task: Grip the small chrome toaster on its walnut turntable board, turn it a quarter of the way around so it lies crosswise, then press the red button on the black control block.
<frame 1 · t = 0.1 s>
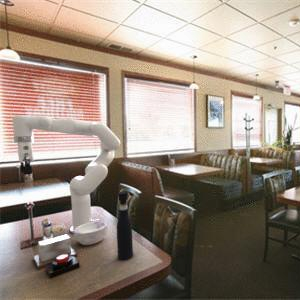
hand: (26, 173, 119), 37 cm above the table, tool pointing down, fingers open, 9 cm apart
button: (62, 258, 97), point 4 cm above the table, slide at 0.1 cm
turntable: (55, 258, 106), on the table
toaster: (54, 247, 106), point 5 cm above the table, hinge at 0.0°
control block: (62, 269, 98), on the table
wine bottle: (125, 257, 107), on the table
white round bowl: (91, 241, 123), on the table
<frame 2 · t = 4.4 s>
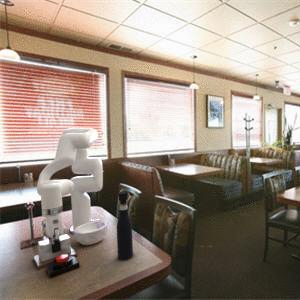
hand: (54, 249, 106), 4 cm above the table, tool pointing down, fingers closed on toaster, 5 cm apart
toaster: (54, 247, 106), point 5 cm above the table, hinge at 0.0°, touching gripper
everything else where it was.
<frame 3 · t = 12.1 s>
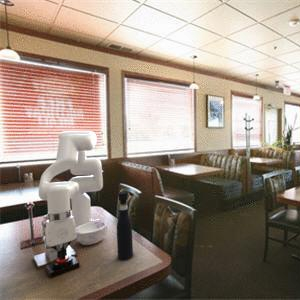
hand: (62, 258, 97), 5 cm above the table, tool pointing down, fingers closed
button: (62, 260, 97), point 4 cm above the table, slide at -0.5 cm, touching gripper
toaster: (54, 247, 106), point 5 cm above the table, hinge at -90.0°
everything else where it was.
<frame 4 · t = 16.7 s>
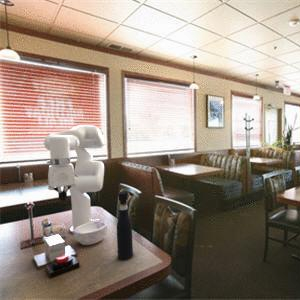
hand: (62, 200, 111), 25 cm above the table, tool pointing down, fingers closed
button: (62, 258, 97), point 4 cm above the table, slide at 0.1 cm
everything else where it was.
at the end: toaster at -90° (first picture: +0°); button pushed in 1.1 cm at the most during the clip and back out by the end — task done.
